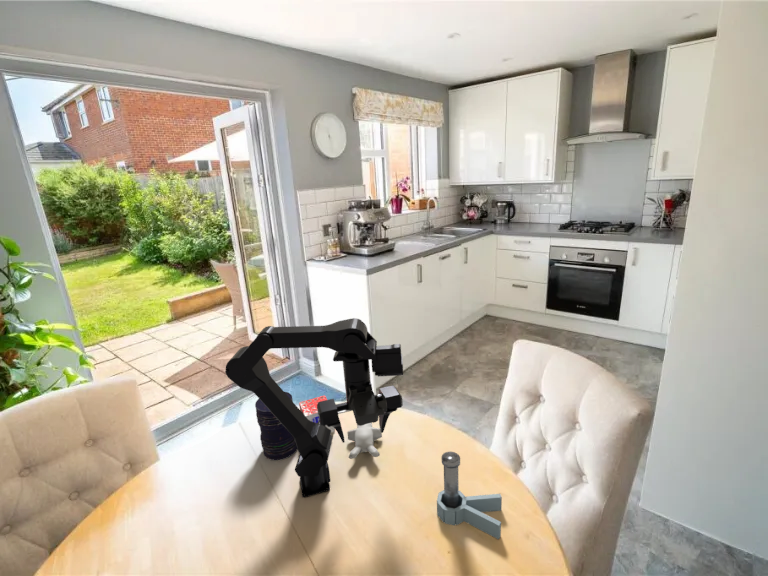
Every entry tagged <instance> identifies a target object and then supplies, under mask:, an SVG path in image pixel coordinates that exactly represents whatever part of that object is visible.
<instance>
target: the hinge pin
mask: <svg viewBox="0 0 768 576" xmlns="http://www.w3.org/2000/svg"><path fill="white" fill-rule="evenodd" d="M441 464H442V465H443V490H444V505H445V507H448V508H453V509H455V508H457V507H459V491H460V490H459V488H460V487H459V467H460V465H461V456H460V455H459V454H458V453H456V452H455V451H446V452H443V454H441Z"/></svg>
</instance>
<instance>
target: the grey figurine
mask: <svg viewBox="0 0 768 576" xmlns="http://www.w3.org/2000/svg"><path fill="white" fill-rule="evenodd" d="M346 433H347V440H349V441H352V442H354V448H353V449H351V450H350V452H349V455H348V458H349V459H351V460H353V459H355V458H357V456H358V455H359V454H361V453H369V454H370V455H371V457H374V458H377V457H380V452H379V450H378V449H377V448H376V447H375V446H374V445H375V443H374V441H376V440H378V439H381V438H383V433H381V431H380V427H379V428H378V427H373V422H372V423H368V424H365V425H362V426H359V425H357V424H356V428H354V429H351V430H348V431H347V432H346Z"/></svg>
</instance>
